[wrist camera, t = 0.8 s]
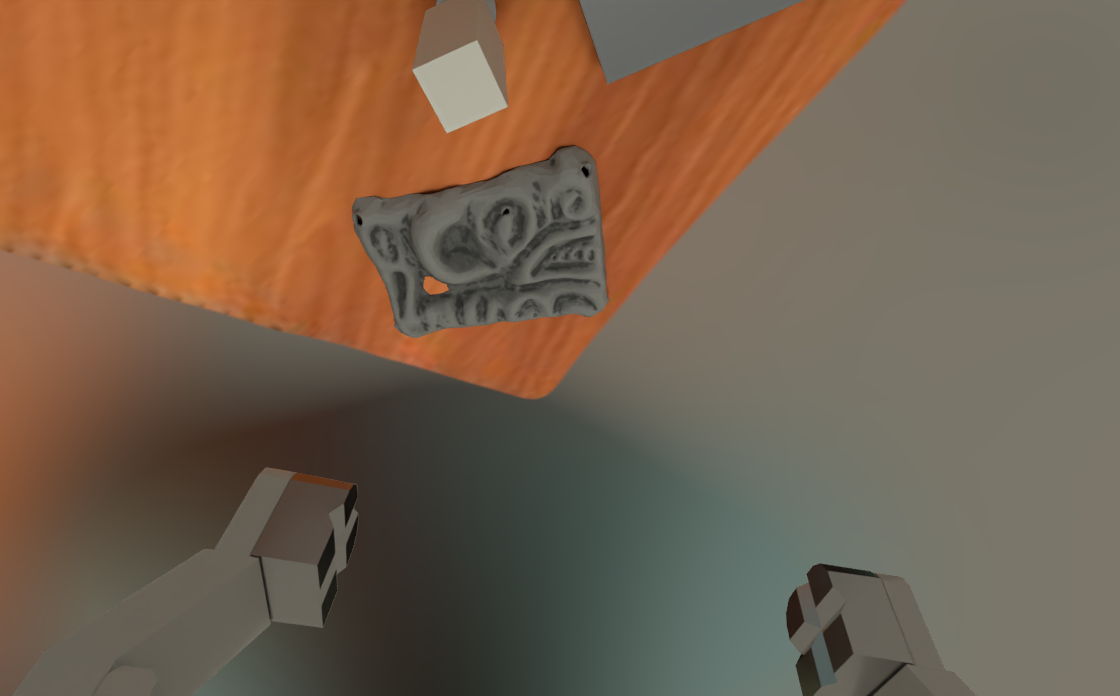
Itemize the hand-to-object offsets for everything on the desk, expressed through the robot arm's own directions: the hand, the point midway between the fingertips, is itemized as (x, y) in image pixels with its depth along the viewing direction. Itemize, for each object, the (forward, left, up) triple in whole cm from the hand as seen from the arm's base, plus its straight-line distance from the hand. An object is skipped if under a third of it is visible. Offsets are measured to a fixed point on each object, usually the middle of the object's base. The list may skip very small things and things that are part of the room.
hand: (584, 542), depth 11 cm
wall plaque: (+23, +11, -48) cm, 54 cm away
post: (+5, -1, -47) cm, 47 cm away
